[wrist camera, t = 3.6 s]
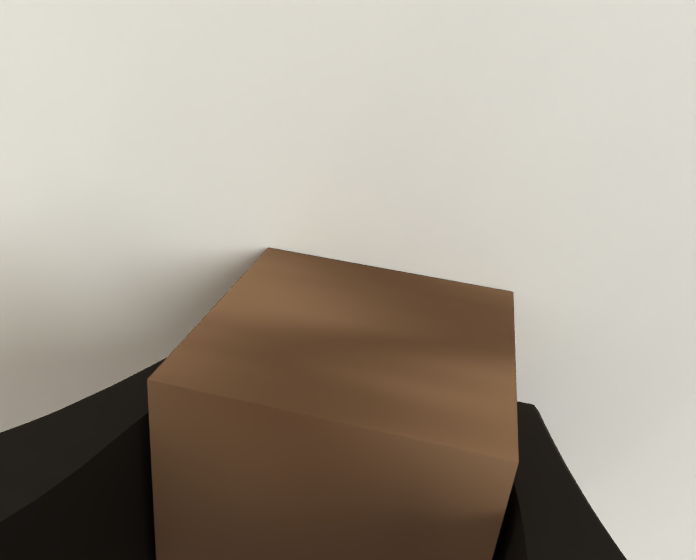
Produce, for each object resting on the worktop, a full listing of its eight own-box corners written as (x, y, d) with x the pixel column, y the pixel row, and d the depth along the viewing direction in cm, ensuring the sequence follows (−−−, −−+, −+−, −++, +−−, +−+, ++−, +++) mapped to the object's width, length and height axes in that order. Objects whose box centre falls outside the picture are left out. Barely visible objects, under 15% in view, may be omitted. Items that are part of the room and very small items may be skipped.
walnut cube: (513, 292, 11) (518, 462, 7) (467, 486, 13) (450, 706, 9) (269, 247, 12) (147, 379, 8) (259, 438, 14) (159, 622, 10)
